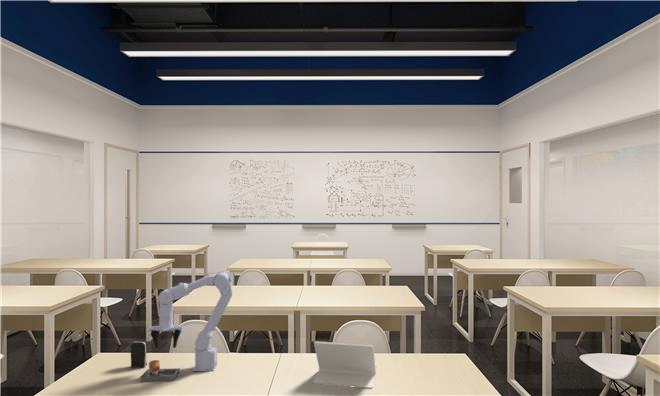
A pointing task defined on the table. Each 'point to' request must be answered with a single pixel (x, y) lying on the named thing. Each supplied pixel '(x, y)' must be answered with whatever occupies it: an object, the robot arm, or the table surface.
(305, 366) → the table surface
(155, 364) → the peg
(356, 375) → the tablet stand
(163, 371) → the keyhole plate
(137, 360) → the battery charger
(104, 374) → the table surface
